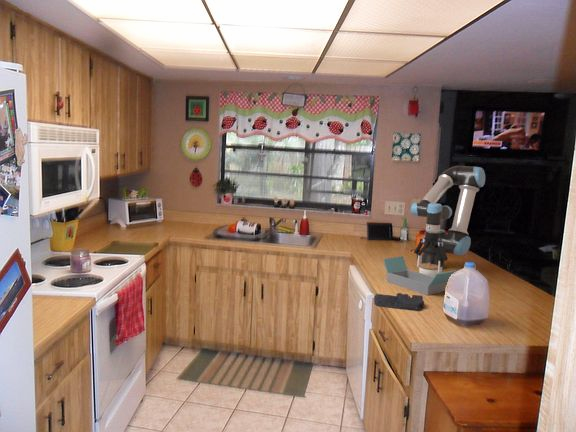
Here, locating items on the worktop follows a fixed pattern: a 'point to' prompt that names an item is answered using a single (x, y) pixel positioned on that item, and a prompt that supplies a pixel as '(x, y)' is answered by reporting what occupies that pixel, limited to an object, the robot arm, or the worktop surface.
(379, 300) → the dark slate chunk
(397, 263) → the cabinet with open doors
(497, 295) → the worktop surface
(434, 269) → the lidded jar
